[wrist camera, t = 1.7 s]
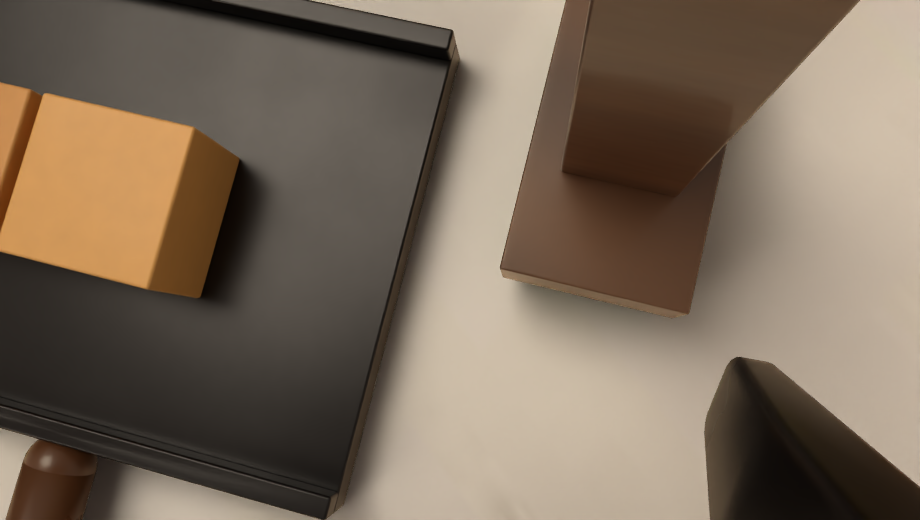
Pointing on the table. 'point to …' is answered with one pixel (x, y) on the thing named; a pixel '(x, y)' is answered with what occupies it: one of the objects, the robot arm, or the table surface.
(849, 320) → the table surface
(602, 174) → the scrub brush
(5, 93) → the orange square block
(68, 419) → the griddle
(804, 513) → the robot arm
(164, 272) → the block
